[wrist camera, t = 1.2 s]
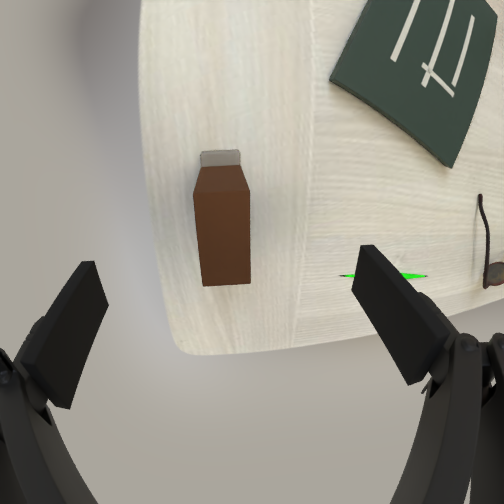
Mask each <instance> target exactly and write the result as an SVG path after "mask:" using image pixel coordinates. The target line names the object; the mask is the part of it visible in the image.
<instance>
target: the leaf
mask: <svg viewBox="0 0 504 504" xmlns="http://www.w3.org/2000/svg"><path fill="white" fill-rule="evenodd" d="M401 274H402V275H403V277H404V278H405V279H411V278H419V277H426V276H424V275H415V274H404V273H401ZM341 276H346V277H354V276H355V275H341Z"/></svg>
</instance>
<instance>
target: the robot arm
mask: <svg viewBox="0 0 504 504" xmlns="http://www.w3.org/2000/svg"><path fill="white" fill-rule="evenodd" d="M351 291H352V292H353V294H354V295H355V297H356V299H357V300H358V302H359V303H360V305H361V306H362V308H363V310H364V311H365V313H366V314H367V316H368V318H369V319H370V321H371V323H372V324H373V326H374V328H375V329H376V331H377V333H378V334H379V336H380V337H381V339H382V341H383V343H384V344H385V346H386V348H387V349H388V351H389V353H390V354H391V356H392V358H393V360H394V361H395V363H396V365H397V367H398V369H399V370H400V372H401V374H402V376H403V378H404V379H405V381H406V383H407V385H408V386H409V385H412V384H414V383H417V382H420V381H422V380H423V379H424V377H425V376H426V374H427V372H428V371H429V373H430V375H431V376H432V377H431V378H430V380H429V381H428V383H427V384H426V386H425V387H424V389H423V390H422V392H421V394H423V393H424V392H425V391H426V389H427V393H426V397H425V402H424V406H423V410H422V414H421V418H420V422H419V426H418V429H417V433H416V436H415V439H414V443H413V446H412V449H411V452H410V455H409V458H408V460H407V463H406V466H405V469H404V471H403V474H402V477H401V479H400V481H399V484H398V486H397V489H396V491H395V493H394V496H393V498H392V500H391V502H390V504H464V500H465V497H466V493H467V490H468V486H469V482H470V478H471V491H470V503H469V504H504V334H502V333H495V334H494V335H493V337H492V338H491V340H490V341H489V342H478V340H477V339H476V338H475V337H474V336H472V335H470V334H467V333H462V334H460V333H459V332H458V331H457V330H456V328H455V327H454V326H453V325H452V323H451V322H450V321H449V320H448V319H447V317H446V316H445V315H444V314H443V313H441V310H440V309H439V308H438V307H436V304H435V303H434V302H433V301H432V300H431V299H430V298H429V297H428V296H426V295H425V294H423V293H422V292H417V291H416V290H415V289H414V288H413V287H412V285H411V284H410V283H409V282H408V281H407V280H406V279H405V278H404V277H403V275H402V274H401V273H400V272H399V271H398V270H397V269H396V268H395V267H394V266H393V265H392V264H391V262H390V261H389V260H388V259H387V258H386V257H385V256H384V255H383V254H382V253H381V252H380V251H379V250H378V249H377V248H376V247H375V246H374V245H361V246H360V251H359V256H358V261H357V266H356V271H355V276H354V281H353V285H352V289H351ZM108 306H109V304H108V302H107V299H106V296H105V293H104V290H103V287H102V284H101V281H100V278H99V275H98V272H97V269H96V265H95V262H94V261H82V262H81V263H80V265H79V266H78V267H77V269H76V270H75V271H74V273H73V274H72V276H71V277H70V278H69V280H68V281H67V283H66V284H65V286H64V287H63V289H62V290H61V292H60V293H59V295H58V296H57V298H56V299H55V301H54V302H53V304H52V305H51V307H50V309H49V310H48V312H47V313H46V315H45V316H42V317H41V318H40V319H39V320H38V321H37V322H36V323H35V324H34V325H33V327H32V329H31V330H30V334H28V335H27V337H26V341H24V342H23V344H22V346H21V348H20V350H19V352H18V353H17V355H16V357H15V359H14V361H13V362H12V361H11V360H10V358H9V357H8V355H7V354H6V353H5V351H4V350H3V349H1V348H0V504H98V503H97V501H96V500H95V498H94V497H93V495H92V493H91V492H90V490H89V489H88V487H87V485H86V484H85V482H84V480H83V479H82V477H81V476H80V473H79V472H78V470H77V468H76V466H75V464H74V463H73V460H72V458H71V457H70V455H69V452H68V451H67V448H66V446H65V444H64V442H63V440H62V438H61V436H60V433H59V431H58V429H57V426H56V424H55V421H54V419H53V416H52V414H51V411H50V409H49V408H48V406H47V405H46V403H47V400H48V399H49V400H50V401H51V402H52V403H53V404H54V405H55V406H56V407H60V408H65V409H70V408H71V404H72V401H73V398H74V395H75V392H76V388H77V385H78V383H79V380H80V377H81V374H82V371H83V368H84V365H85V362H86V360H87V357H88V355H89V352H90V349H91V347H92V344H93V342H94V339H95V337H96V334H97V332H98V329H99V327H100V325H101V322H102V319H103V317H104V315H105V313H106V310H107V308H108ZM494 378H495V380H496V384H495V385H494V386H493V387H492V385H491V381H492V380H493V379H494Z"/></svg>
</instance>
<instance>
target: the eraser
mask: <svg viewBox="0 0 504 504" xmlns="http://www.w3.org/2000/svg"><path fill="white" fill-rule="evenodd" d="M200 156H201V169H200V173H199V176H198V179H197V182H196V186H195V189H194V193H193V199H194V211H195V221H196V232H197V241H198V251H199V260H200V268H201V276H202V284H203V286H222V285H238V284H250V283H251V261H250V190H249V187H248V185H247V182H246V179H245V177H244V174H243V171H242V169H241V166H240V152H239V150H218V151H202V153H201V155H200Z"/></svg>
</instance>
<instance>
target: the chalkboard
mask: <svg viewBox="0 0 504 504" xmlns="http://www.w3.org/2000/svg"><path fill="white" fill-rule="evenodd" d="M497 17H498V16H497V14H496V13H495V12H494V11H493V9H492V8H491V7H490V6H489V4H488V3H487V2H486V1H485V0H368V2H367V4H366V6H365V8H364V10H363V12H362V14H361V16H360V18H359V20H358V22H357V24H356V26H355V28H354V30H353V32H352V34H351V36H350V38H349V40H348V42H347V44H346V46H345V48H344V50H343V52H342V55H341V57H340V59H339V61H338V63H337V65H336V67H335V69H334V71H333V73H332V75H331V77H330V79H329V80H330V81H331V82H333V83H335V84H336V85H338V86H340V87H342V88H343V89H345V90H346V91H348V92H350V93H351V94H353V95H354V96H356V97H358V98H359V99H361V100H362V101H364V102H365V103H367V104H368V105H370V106H371V107H373V108H374V109H376V110H377V111H378V112H380V113H381V114H383V115H384V116H385V117H387V118H388V119H389V120H391V121H392V122H394V123H395V124H396V125H397V126H399V127H400V128H401V129H403V130H404V131H405V132H406V133H408V134H409V135H410V136H411V137H413V138H414V139H415V140H416V141H417V142H419V143H420V144H421V145H422V146H423V147H425V148H426V149H427V150H428V151H429V152H430V153H431V154H433V155H434V156H435V157H436V158H437V159H438V160H439V161H440V162H441V163H442V164H443V165H445V166H446V167H449V168H451V169H452V167H453V165H454V163H455V160H456V158H457V156H458V153H459V151H460V149H461V146H462V144H463V141H464V139H465V136H466V134H467V131H468V129H469V126H470V123H471V121H472V118H473V115H474V112H475V109H476V106H477V103H478V100H479V97H480V94H481V91H482V87H483V84H484V80H485V77H486V73H487V69H488V65H489V61H490V56H491V52H492V47H493V42H494V37H495V31H496V24H497Z"/></svg>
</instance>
